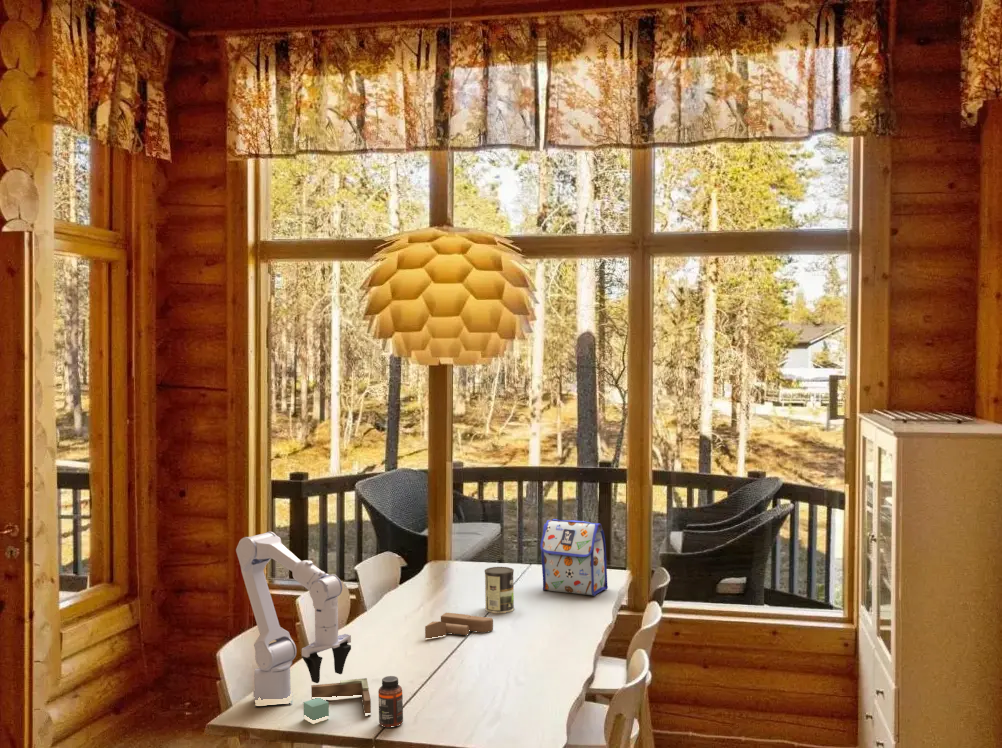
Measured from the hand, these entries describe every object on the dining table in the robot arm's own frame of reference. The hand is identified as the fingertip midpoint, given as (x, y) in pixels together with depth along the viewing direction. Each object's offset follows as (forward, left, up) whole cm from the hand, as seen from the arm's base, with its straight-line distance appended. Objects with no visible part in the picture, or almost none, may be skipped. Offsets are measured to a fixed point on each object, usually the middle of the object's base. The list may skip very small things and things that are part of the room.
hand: (327, 677), depth 230 cm
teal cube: (-3, -2, -10) cm, 10 cm away
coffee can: (+62, +80, -10) cm, 101 cm away
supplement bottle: (+15, -9, -10) cm, 20 cm away
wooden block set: (+43, +55, -10) cm, 71 cm away
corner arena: (+3, +4, -9) cm, 11 cm away
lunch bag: (+95, +97, -10) cm, 136 cm away
